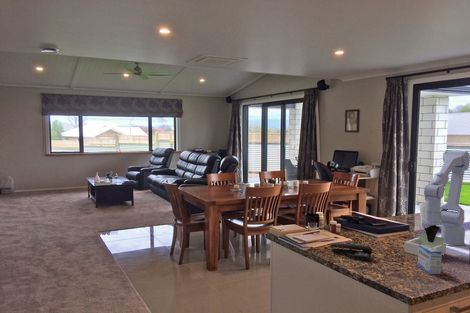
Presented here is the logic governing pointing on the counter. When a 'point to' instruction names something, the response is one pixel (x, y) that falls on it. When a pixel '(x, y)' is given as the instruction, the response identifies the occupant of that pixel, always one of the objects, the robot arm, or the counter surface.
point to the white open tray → (413, 247)
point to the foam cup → (422, 211)
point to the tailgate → (436, 242)
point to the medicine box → (429, 259)
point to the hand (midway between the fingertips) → (430, 242)
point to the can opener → (357, 254)
